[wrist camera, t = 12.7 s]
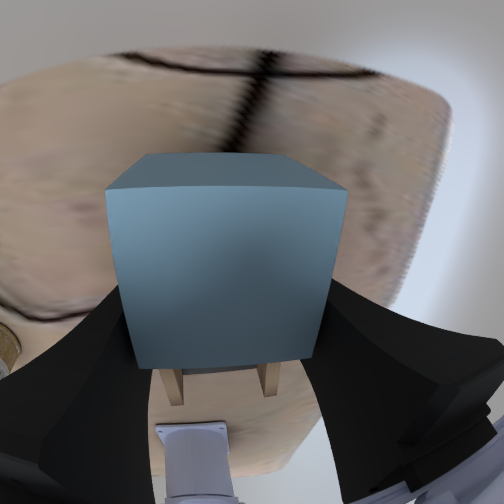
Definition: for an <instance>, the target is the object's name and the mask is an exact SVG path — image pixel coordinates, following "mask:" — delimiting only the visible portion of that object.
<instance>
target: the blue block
mask: <svg viewBox="0 0 504 504" xmlns="http://www.w3.org/2000/svg"><path fill="white" fill-rule="evenodd" d="M347 195H348V190H347V189H345V188H343V187H342V186H340V185H338V184H337V183H335V182H333V181H331V180H330V179H328V178H326V177H324V176H322V175H321V174H319V173H317V172H315V171H313V170H312V169H310V168H308V167H306V166H304V165H302V164H301V163H299V162H297V161H295V160H293V159H291V158H289V157H287V156H285V155H275V154H254V153H163V154H146V155H145V156H144V157H142V158H141V159H140V160H139V161H137V162H136V163H135V164H134V165H133V166H131V167H130V168H129V169H128V170H127V171H126V172H124V173H123V174H122V175H121V176H120V177H119V178H117V179H116V180H115V181H114V182H113V183H112V184H111V185H110V186H108V187H107V188H106V189H105V198H106V208H107V217H108V225H109V232H110V240H111V246H112V253H113V259H114V265H115V270H116V276H117V281H118V286H119V291H120V296H121V300H122V305H123V309H124V314H125V318H126V322H127V326H128V330H129V334H130V338H131V341H132V345H133V349H134V352H135V356H136V359H137V363H138V366H139V369H190V368H214V367H230V366H243V365H255V364H265V363H274V362H283V361H291V360H299V359H306V358H311V357H312V354H313V350H314V346H315V343H316V339H317V335H318V332H319V328H320V324H321V320H322V316H323V312H324V308H325V304H326V300H327V296H328V291H329V287H330V283H331V278H332V274H333V269H334V265H335V260H336V255H337V250H338V245H339V240H340V235H341V229H342V224H343V218H344V213H345V207H346V201H347Z"/></svg>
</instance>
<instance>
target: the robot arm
mask: <svg viewBox="0 0 504 504" xmlns="http://www.w3.org/2000/svg"><path fill="white" fill-rule="evenodd" d="M300 361H301V363H302V365H303V367H304V369H305V371H306V374H307V376H308V378H309V380H310V382H311V385H312V387H313V390H314V392H315V395H316V397H317V401H318V404H319V407H320V410H321V413H322V417H323V420H324V423H325V427H326V430H327V434H328V438H329V441H330V445H331V449H332V453H333V457H334V461H335V466H336V470H337V475H338V480H339V485H340V490H341V496H342V501H343V503H344V504H406V503H408V502H410V501H412V500H414V499H415V498H417V497H418V498H417V499H416V500H415V503H414V504H504V415H503V416H502V417H501V418H500V419H499V420H497V421H496V422H495V423H494V424H491V422H490V421H489V419H488V418H487V416H488V415H489V414H490V412H491V409H490V408H489V406H488V405H487V404H486V403H487V401H488V400H489V399H490V398H491V396H492V395H493V394H494V393H495V391H496V390H497V389H498V387H499V386H500V385H501V383H502V382H503V381H504V346H503V345H502V344H501V343H500V342H499V341H498V340H497V339H492V338H486V337H479V336H472V335H466V334H461V333H456V332H452V331H448V330H444V329H441V328H437V327H434V326H430V325H427V324H424V323H421V322H418V321H416V320H412V319H410V318H407V317H404V316H402V315H400V314H398V313H395V312H393V311H391V310H389V309H386V308H384V307H382V306H380V305H378V304H376V303H374V302H372V301H370V300H368V299H366V298H365V297H363V296H361V295H359V294H357V293H355V292H354V291H352V290H350V289H349V288H347V287H345V286H344V285H342V284H340V283H339V282H337V281H335V280H334V279H332V278H331V283H330V287H329V291H328V296H327V300H326V304H325V308H324V312H323V316H322V320H321V324H320V328H319V332H318V335H317V339H316V343H315V346H314V350H313V354H312V357H311V358H306V359H300ZM151 377H152V369H139V366H138V363H137V359H136V356H135V352H134V349H133V345H132V341H131V338H130V334H129V330H128V326H127V322H126V318H125V314H124V309H123V305H122V300H121V296H120V291H119V286H118V285H117V286H116V287H115V288H114V289H113V290H112V291H111V292H110V293H109V294H108V295H107V297H106V298H105V299H104V300H103V301H102V302H101V303H100V304H99V305H98V306H97V307H96V308H95V309H94V310H93V311H92V312H91V313H90V314H89V315H88V316H86V317H85V318H84V319H83V320H82V321H81V322H80V323H79V324H78V325H77V326H76V327H75V328H74V329H73V330H72V331H70V332H69V333H68V334H67V335H66V336H65V337H63V338H62V339H61V340H60V341H58V342H57V343H56V344H55V345H53V346H52V347H51V348H49V349H48V350H47V351H45V352H44V353H42V354H41V355H39V356H38V357H36V358H35V359H34V360H32V361H31V362H29V363H28V364H26V365H25V366H23V367H21V368H20V369H18V370H16V371H15V372H13V373H11V374H10V375H8V376H6V377H4V378H2V379H1V380H0V504H155V498H154V492H153V485H152V477H151V469H150V458H149V444H148V401H149V392H150V384H151ZM155 430H156V432H157V434H158V436H159V437H160V439H161V441H162V443H163V444H164V446H165V473H166V493H167V498H165V504H245V503H243V502H241V503H239V500H238V497H234V492H233V486H232V481H231V475H230V469H229V464H228V458H227V455H229V454H230V450H229V443H228V436H227V428H226V423H225V422H214V423H200V424H180V425H156V426H155Z"/></svg>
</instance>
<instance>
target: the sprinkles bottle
mask: <svg viewBox="0 0 504 504" xmlns="http://www.w3.org/2000/svg"><path fill="white" fill-rule="evenodd" d="M20 353H21V348H20V345H19V343H18V341H17V339H16V338H15V336H14V335H13V334H12V333H11V332H10V331H9V330H8V329H7V328H6V327H4V326H3V325H1V324H0V380H1V379H2V378H4V377H6V376H8V375H10V372H11V370H12V368H13V365H14V363H15V361H16V359H17V358H18V357H19V356H20Z"/></svg>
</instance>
